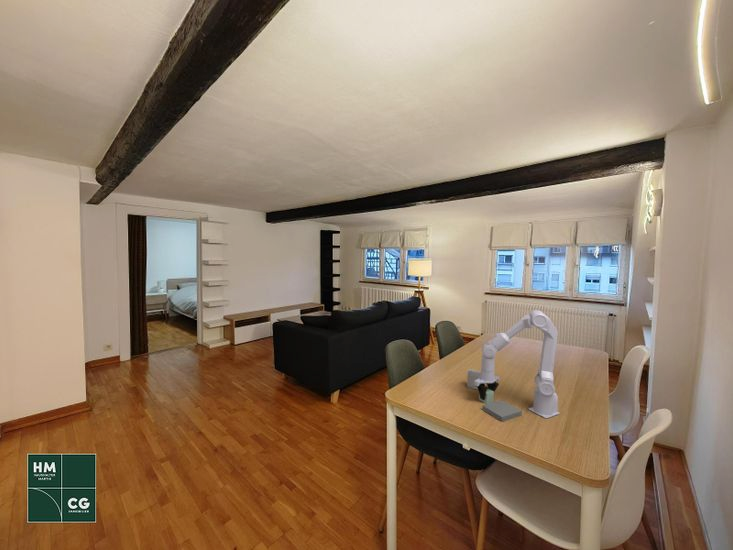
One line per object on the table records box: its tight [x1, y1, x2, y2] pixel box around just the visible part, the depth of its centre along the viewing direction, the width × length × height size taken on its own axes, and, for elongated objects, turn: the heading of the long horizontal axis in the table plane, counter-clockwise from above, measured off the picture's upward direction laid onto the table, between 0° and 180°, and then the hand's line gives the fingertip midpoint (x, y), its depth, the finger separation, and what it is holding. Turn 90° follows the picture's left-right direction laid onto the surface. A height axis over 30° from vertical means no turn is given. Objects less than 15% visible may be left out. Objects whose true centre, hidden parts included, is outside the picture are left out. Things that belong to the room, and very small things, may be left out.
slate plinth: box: [481, 400, 523, 422], centre depth 123 cm, size 12×10×2 cm
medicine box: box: [466, 368, 481, 391], centre depth 146 cm, size 8×4×9 cm, turn 59°
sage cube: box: [478, 389, 495, 405], centre depth 132 cm, size 4×4×5 cm
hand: (486, 398), depth 132 cm, fingers closed on sage cube, 4 cm apart
